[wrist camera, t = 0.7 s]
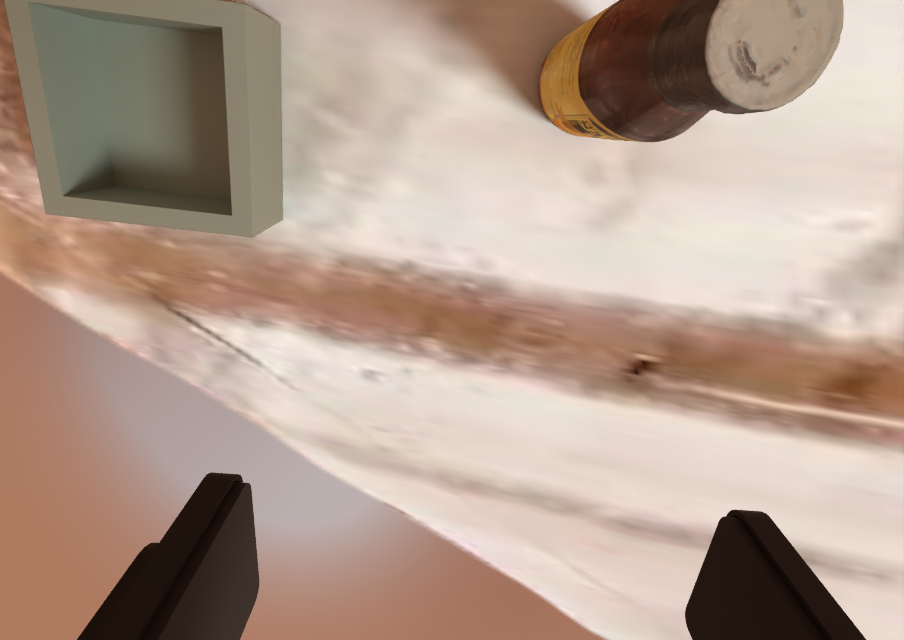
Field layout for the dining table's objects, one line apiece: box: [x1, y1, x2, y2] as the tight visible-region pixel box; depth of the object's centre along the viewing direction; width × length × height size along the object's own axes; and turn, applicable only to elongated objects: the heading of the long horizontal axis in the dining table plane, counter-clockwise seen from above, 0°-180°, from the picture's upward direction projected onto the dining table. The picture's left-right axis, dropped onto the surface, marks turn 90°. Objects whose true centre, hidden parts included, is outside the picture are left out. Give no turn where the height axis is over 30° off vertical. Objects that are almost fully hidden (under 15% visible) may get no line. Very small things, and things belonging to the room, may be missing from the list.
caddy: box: [4, 0, 283, 238], centre depth 31 cm, size 12×12×6 cm
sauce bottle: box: [538, 0, 844, 142], centre depth 23 cm, size 6×6×20 cm
